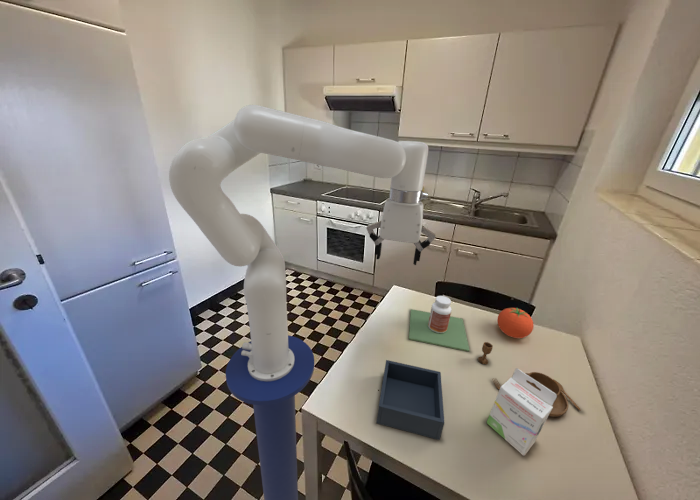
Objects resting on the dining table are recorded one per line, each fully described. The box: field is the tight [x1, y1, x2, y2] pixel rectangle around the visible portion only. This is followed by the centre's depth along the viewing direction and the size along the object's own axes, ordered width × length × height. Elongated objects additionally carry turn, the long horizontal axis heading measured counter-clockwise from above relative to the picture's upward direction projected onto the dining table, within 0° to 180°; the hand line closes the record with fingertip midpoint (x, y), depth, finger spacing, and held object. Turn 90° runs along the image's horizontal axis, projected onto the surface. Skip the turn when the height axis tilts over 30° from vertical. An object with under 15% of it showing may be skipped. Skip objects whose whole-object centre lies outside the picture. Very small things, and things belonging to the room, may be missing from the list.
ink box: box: [486, 367, 557, 456], centre depth 58 cm, size 9×5×15 cm, turn 35°
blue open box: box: [375, 359, 445, 441], centre depth 65 cm, size 14×14×6 cm
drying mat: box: [408, 308, 470, 352], centre depth 93 cm, size 18×16×1 cm
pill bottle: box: [428, 295, 452, 333], centre depth 90 cm, size 6×6×11 cm
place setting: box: [477, 341, 582, 417], centre depth 73 cm, size 18×20×6 cm
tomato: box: [496, 307, 535, 339], centre depth 90 cm, size 10×10×10 cm
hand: (396, 260), depth 74 cm, fingers open, 9 cm apart
